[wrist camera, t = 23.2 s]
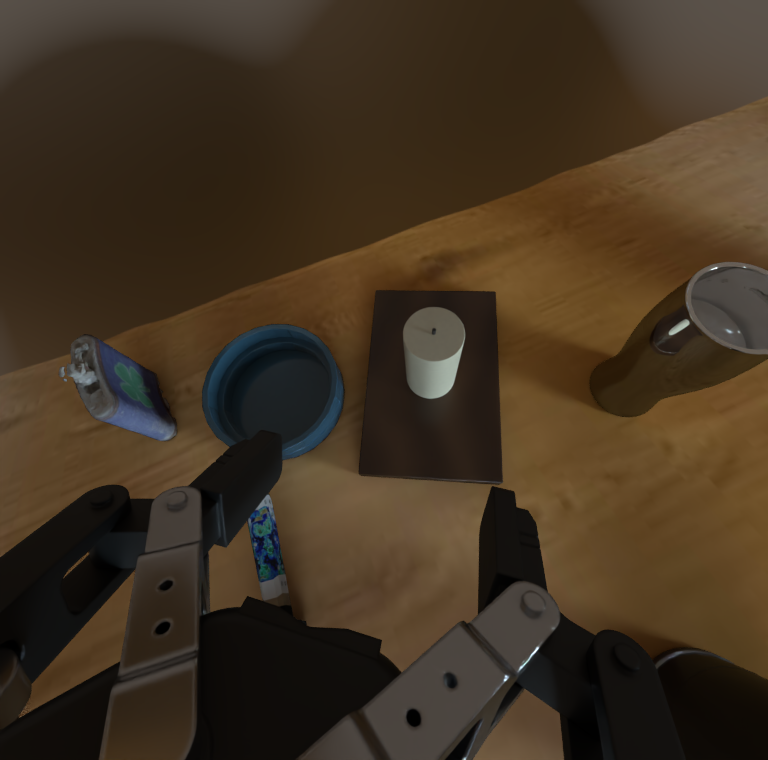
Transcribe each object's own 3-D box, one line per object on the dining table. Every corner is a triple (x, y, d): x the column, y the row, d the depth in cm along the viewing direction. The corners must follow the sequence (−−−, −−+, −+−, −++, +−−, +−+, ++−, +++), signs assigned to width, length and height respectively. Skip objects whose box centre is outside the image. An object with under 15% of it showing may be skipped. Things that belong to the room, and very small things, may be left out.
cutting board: (493, 299, 42) (495, 291, 40) (499, 484, 35) (503, 483, 33) (377, 297, 43) (375, 289, 42) (360, 475, 36) (358, 473, 35)
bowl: (351, 343, 41) (344, 325, 38) (337, 464, 37) (327, 458, 33) (236, 340, 43) (219, 322, 39) (209, 457, 38) (186, 449, 34)
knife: (257, 483, 35) (235, 484, 31) (288, 476, 35) (271, 476, 31) (302, 911, 27) (281, 993, 23) (343, 904, 27) (330, 984, 23)
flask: (182, 433, 39) (100, 402, 29) (156, 449, 39) (65, 422, 29) (154, 366, 42) (73, 317, 32) (130, 379, 42) (40, 334, 32)
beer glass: (595, 425, 36) (708, 363, 22) (575, 359, 38) (665, 265, 24) (670, 418, 35) (834, 350, 22) (646, 352, 38) (778, 252, 24)
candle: (455, 354, 38) (466, 302, 29) (454, 399, 36) (466, 359, 27) (407, 353, 39) (404, 302, 30) (405, 397, 37) (400, 357, 28)
